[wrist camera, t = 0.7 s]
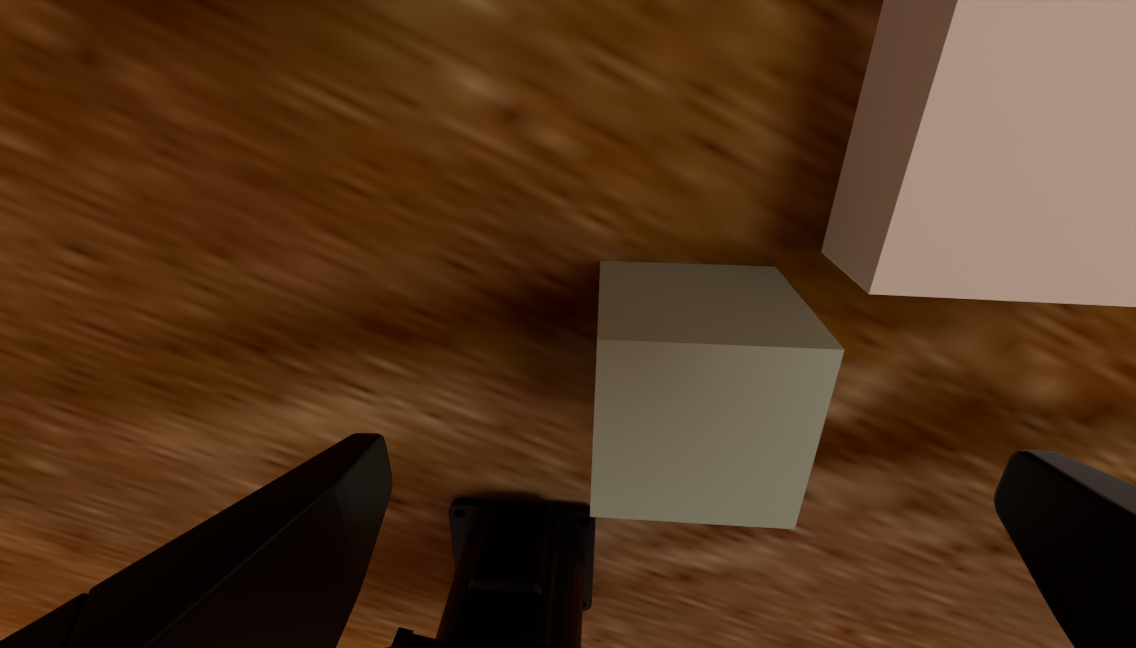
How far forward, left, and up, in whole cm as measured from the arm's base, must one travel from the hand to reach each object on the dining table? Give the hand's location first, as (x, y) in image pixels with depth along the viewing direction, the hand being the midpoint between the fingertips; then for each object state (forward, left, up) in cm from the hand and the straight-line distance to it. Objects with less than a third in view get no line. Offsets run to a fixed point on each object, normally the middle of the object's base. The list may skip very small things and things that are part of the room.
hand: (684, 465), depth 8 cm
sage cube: (-4, -2, -12) cm, 12 cm away
